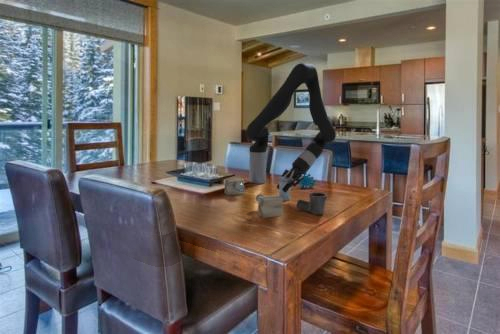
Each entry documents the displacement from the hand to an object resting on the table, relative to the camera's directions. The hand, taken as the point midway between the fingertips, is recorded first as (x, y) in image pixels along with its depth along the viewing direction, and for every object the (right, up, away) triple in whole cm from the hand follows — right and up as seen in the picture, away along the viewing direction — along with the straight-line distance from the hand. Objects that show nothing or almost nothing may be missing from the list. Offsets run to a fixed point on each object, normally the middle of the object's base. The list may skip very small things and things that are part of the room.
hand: (280, 189), depth 160 cm
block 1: (-22, -3, +12) cm, 25 cm away
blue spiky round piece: (+16, -1, +27) cm, 31 cm away
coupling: (+2, -4, +2) cm, 5 cm away
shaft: (-9, -5, -17) cm, 20 cm away
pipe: (+11, -8, -19) cm, 23 cm away
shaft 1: (-19, -1, +6) cm, 20 cm away
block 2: (-6, -8, -22) cm, 25 cm away
